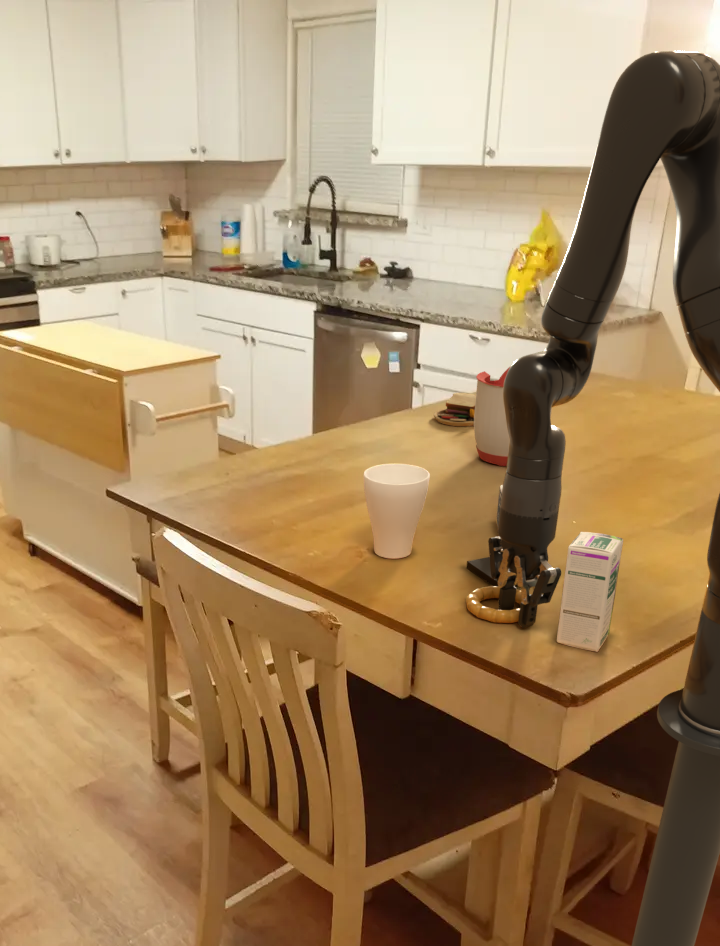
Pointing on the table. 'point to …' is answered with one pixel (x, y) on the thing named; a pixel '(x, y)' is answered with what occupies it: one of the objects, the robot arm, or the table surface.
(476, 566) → the holder
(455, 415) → the toy sandwich meal
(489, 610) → the ring
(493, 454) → the citrus juicer
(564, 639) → the syrup box
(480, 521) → the table surface
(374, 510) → the cup
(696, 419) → the table surface
